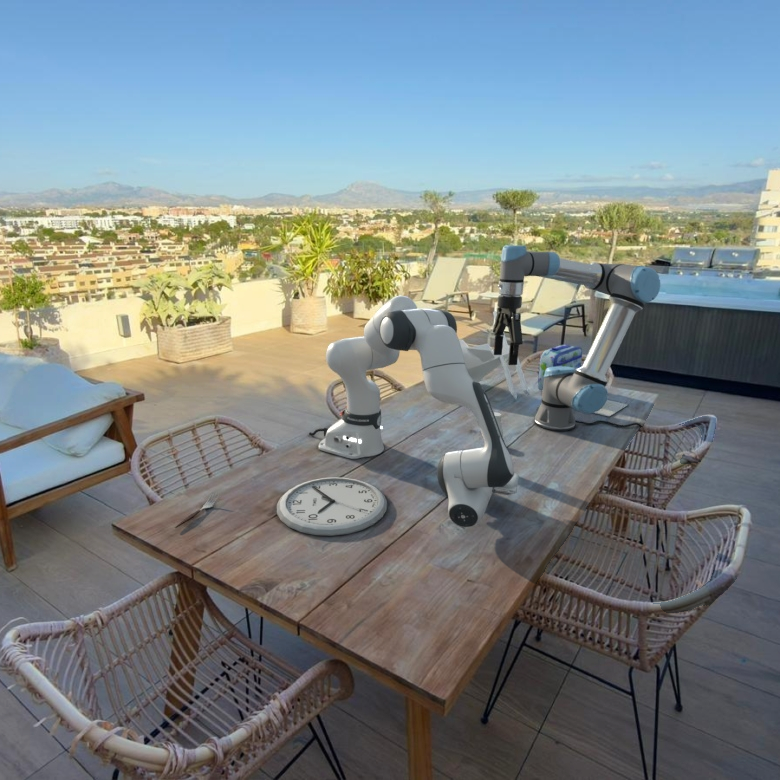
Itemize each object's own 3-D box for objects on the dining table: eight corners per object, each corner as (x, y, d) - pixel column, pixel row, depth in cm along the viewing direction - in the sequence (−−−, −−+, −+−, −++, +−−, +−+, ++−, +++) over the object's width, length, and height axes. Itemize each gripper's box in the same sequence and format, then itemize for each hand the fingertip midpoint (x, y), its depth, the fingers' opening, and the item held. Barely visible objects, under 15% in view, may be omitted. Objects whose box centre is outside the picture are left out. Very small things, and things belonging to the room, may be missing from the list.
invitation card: (608, 416, 214) (573, 407, 224) (608, 416, 214) (573, 408, 224) (628, 404, 229) (594, 396, 238) (628, 405, 229) (594, 397, 238)
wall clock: (392, 527, 129) (268, 531, 127) (391, 533, 130) (269, 537, 127) (383, 473, 158) (282, 475, 155) (383, 478, 158) (282, 480, 156)
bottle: (480, 467, 167) (484, 411, 162) (496, 466, 168) (501, 410, 162) (485, 474, 162) (490, 417, 157) (501, 473, 163) (506, 416, 157)
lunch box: (554, 397, 237) (559, 352, 231) (533, 392, 244) (538, 348, 238) (581, 386, 255) (586, 344, 248) (560, 381, 262) (565, 340, 256)
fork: (171, 528, 130) (170, 521, 130) (212, 499, 145) (211, 492, 144) (179, 530, 129) (178, 523, 129) (220, 500, 144) (219, 494, 143)
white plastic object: (461, 429, 252) (437, 405, 227) (444, 352, 274) (420, 323, 250) (535, 404, 240) (518, 377, 215) (510, 326, 262) (492, 293, 237)
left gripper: (516, 483, 135) (523, 462, 147) (440, 470, 142) (452, 450, 154) (514, 505, 137) (520, 482, 149) (438, 491, 143) (451, 470, 156)
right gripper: (486, 290, 179) (481, 351, 185) (514, 300, 155) (508, 369, 161) (507, 290, 180) (502, 350, 186) (537, 300, 156) (530, 369, 163)
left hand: (485, 466), depth 152 cm, fingers open, 8 cm apart
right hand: (504, 359), depth 174 cm, fingers open, 13 cm apart
